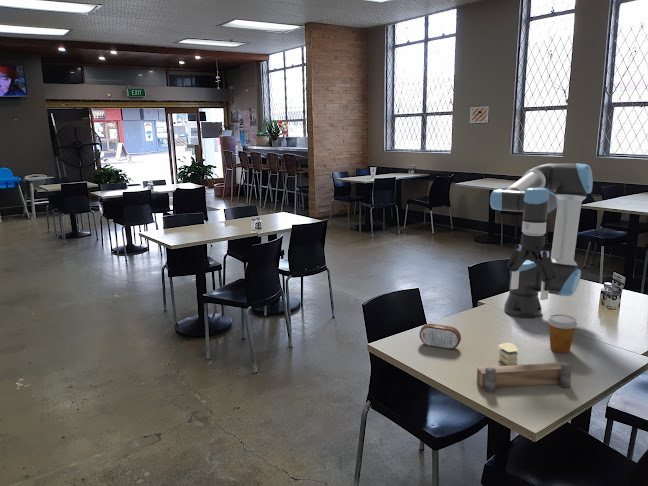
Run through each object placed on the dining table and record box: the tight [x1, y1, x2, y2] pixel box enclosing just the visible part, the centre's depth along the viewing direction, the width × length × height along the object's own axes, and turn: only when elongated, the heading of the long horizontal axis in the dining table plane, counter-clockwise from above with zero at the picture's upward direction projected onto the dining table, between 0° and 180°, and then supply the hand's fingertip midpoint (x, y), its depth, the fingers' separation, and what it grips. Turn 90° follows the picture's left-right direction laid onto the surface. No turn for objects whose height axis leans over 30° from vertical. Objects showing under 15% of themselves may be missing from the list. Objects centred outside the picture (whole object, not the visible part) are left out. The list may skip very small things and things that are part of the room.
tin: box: [418, 323, 462, 350], centre depth 183 cm, size 15×3×8 cm, turn 65°
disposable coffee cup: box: [547, 313, 578, 354], centre depth 177 cm, size 10×10×12 cm
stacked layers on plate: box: [497, 342, 519, 366], centre depth 171 cm, size 10×9×6 cm
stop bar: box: [476, 361, 573, 394], centre depth 154 cm, size 7×28×7 cm, turn 94°
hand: (528, 294), depth 171 cm, fingers open, 13 cm apart
